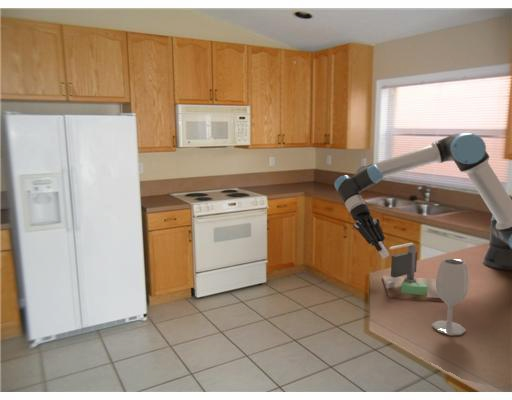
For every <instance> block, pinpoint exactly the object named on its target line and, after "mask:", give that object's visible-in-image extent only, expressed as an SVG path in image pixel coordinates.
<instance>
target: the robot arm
mask: <svg viewBox="0 0 512 400" xmlns="http://www.w3.org/2000/svg"><path fill="white" fill-rule="evenodd" d="M489 160H490V155H489V154H488V152H487V147H486V142H485V141H484V139H483V138H482V137H481V136H479V135H477V134H475V133H472V132H464V133H463V132H462V133H459V132H458V133H453V134H451V135H449V136H446V137H443V138H441V139H439V140H437V141H433V142H431V145H428V146H425V147H422V148H419V149H418V148H417V149H415V150H413V151H409V152H405V153H403V154H400V155H397V156H393V157H390V158H386V159H383V160H380V161H377V162H374V163H372V164H369V165H362V166H360V167H359V168H358V169H357V171H356V172H355V173H356V174H355V175H353V176H351V177H350V176H349V175H347V174H344V175H341V176H339V177H338V178H337V179H336V180H335V181H334V188H335V190H336V192H337V193H338V196H339V197H340V198H341V201H342V202H343V203H344V205H345V207H346V209H347V210H348V212H349V213H350V214H349V215H350V216H351V218H352V219H353V220H354V221H355V223H354V224H353V226H352V227H353V228H354V229H356V230H357V231H358V233H359V234H360V235H361V236H362V237H363V239H365V241H366V242H367V244H368V245H371V247H374V248H375V249H376V251H377V252H378V253H379V255H380V257H381V258H382V260H386V259H388V257H390V256H391V254H390V253H389V251H388V250H387V246H386V245H385V244H384V242H383V241H384V240H385V239H386V237H385V234H384V233H383V229H382V227H381V225H380V219H379V218H377V219H374V217H373V216H372V215H371V210H370V209H369V207H368V206H367V204H366V202H365V200H364V198H363V197H362V195H361V194H360V193H362V192H363V191H365V190H367V189H368V188H370V187H372V186H374V185H376V184H378V183H380V181H382V180H384V179H385V178H388V177H391V176H395V175H397V174H402V173H405V172H407V171H411V170H414V169H418V168H420V167H421V168H422V167H425V166H428V165H430V164H435V163H438V164H442V163H445V162H451V161H452V162H454V163H455V164H456V166H457V168H458V169H459V171H460V172H461V173H465V174H466V175H467V176H468V178H469V179H470V181H471V182H472V184H473V186H474V187H475V189H476V190H477V192H478V193H479V195H480V197H481V199H482V200H483V202H484V203H485V205H486V206H487V208H488V210H489V212H491V214H492V216H491V220H490V229H489V231H490V232H489V243H488V248H487V250H486V251H485V254H484V255H483V264H484V265H485V266H487V267H489V268H493V269H498V270H504V271H512V199H511V197H510V195H509V193H508V192H507V190H506V189H505V187H504V186H503V184H502V183H501V181H500V179H499V178H498V176H497V174H496V173H495V172H494V170H493V168H492V167H491V165H490V163H489Z"/></svg>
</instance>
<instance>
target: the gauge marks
mask: <svg viewBox="0 0 512 400" xmlns="http://www.w3.org/2000/svg"><path fill="white" fill-rule="evenodd" d="M394 285H395V282H394V281H390V282H386V287H385V289H386V288H388V289H389V288H393V287H394ZM427 288H428V287H427V286H426V285H425V284H424V283H411V282H404V281H403V283H402V287H401V293H407V294H417V295H427Z"/></svg>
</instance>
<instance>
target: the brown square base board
mask: <svg viewBox="0 0 512 400" xmlns="http://www.w3.org/2000/svg"><path fill="white" fill-rule="evenodd" d="M404 277H405V276H399V277H396V278H394V277H391V275H382V280H383V283H384V286H385V290H386V293H387V296H388V298H389V299H397V300H398V299H400V300H413V301H430V302H431V301H432V302H443V300H442V299H441V298H440V297H439V296H438V294H437V289H436V280H435V279H434V278H429V277H428V278H426V277H415V278H416V283H424V284H425V285H426V286H427V287H428V288H427V295H417V294H407V293H401V287H402V283H403V281H404ZM390 281H394V282H395V285H394V287H393V288H389V289H388V288H386V282H390ZM404 282H405V281H404Z"/></svg>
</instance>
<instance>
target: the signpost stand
mask: <svg viewBox="0 0 512 400" xmlns="http://www.w3.org/2000/svg"><path fill="white" fill-rule="evenodd" d="M405 247H408V250H407V252H402V253H398V254H394V255H393V254H391V263H390V264H391V265H390V266H391V267H390V276H391V277H394V278H396V277H404V281H405V282H411V283H416V278H417V277H415V273H416V272H417V262H418V261H417V260H418V251H416V250H417V244H414V243H413V242H409V243H403V244H399V245H398V244H397V245H394V246H392V245H391V246H389V250H396V249H401V248H405Z"/></svg>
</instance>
